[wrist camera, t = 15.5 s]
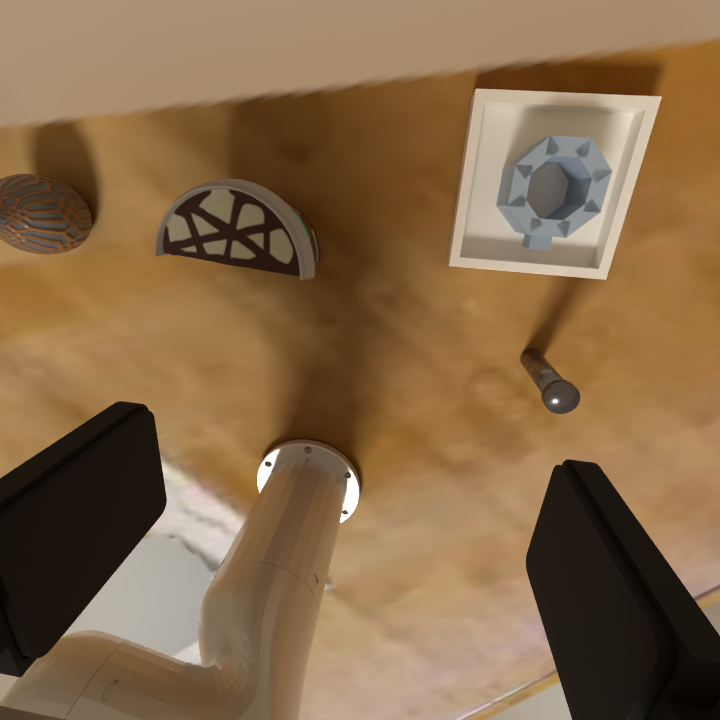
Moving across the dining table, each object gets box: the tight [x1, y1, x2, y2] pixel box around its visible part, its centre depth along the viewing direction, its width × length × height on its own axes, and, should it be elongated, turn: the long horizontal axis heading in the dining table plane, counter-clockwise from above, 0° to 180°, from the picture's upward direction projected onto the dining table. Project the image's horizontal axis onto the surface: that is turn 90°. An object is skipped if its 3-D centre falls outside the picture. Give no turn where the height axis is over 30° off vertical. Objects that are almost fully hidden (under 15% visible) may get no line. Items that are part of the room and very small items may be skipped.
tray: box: [447, 89, 662, 280], centre depth 32 cm, size 13×13×2 cm
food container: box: [155, 178, 319, 281], centre depth 32 cm, size 12×6×10 cm, turn 82°
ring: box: [496, 135, 612, 250], centre depth 30 cm, size 7×8×4 cm
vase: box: [0, 174, 92, 254], centre depth 35 cm, size 7×7×9 cm
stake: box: [520, 349, 580, 414], centre depth 34 cm, size 3×3×9 cm
